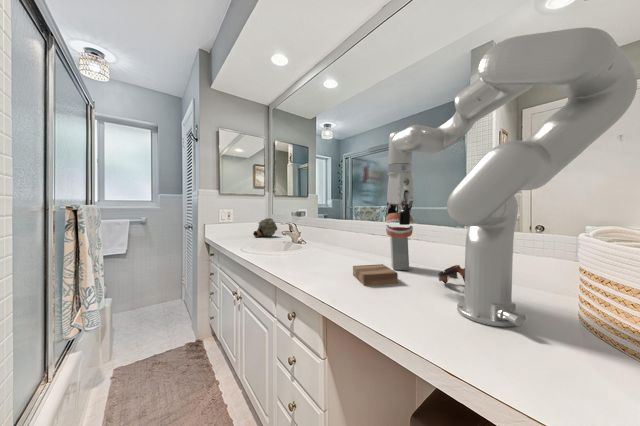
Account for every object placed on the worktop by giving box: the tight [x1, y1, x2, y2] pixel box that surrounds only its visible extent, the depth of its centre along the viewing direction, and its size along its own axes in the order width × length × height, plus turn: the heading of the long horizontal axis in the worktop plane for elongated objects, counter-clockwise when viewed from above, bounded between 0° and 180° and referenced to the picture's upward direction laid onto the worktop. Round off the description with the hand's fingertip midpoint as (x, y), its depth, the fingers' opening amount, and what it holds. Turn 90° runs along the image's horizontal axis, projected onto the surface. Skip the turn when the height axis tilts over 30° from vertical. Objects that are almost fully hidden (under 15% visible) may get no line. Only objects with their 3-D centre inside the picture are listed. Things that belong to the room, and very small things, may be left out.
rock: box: [252, 217, 278, 238], centre depth 200 cm, size 18×14×15 cm
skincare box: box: [389, 236, 410, 271], centre depth 104 cm, size 8×7×16 cm
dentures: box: [385, 212, 414, 238], centre depth 83 cm, size 9×7×8 cm
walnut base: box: [352, 263, 399, 287], centre depth 90 cm, size 12×12×4 cm
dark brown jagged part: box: [437, 264, 465, 288], centre depth 81 cm, size 12×10×8 cm
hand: (397, 222), depth 83 cm, fingers closed on dentures, 8 cm apart
